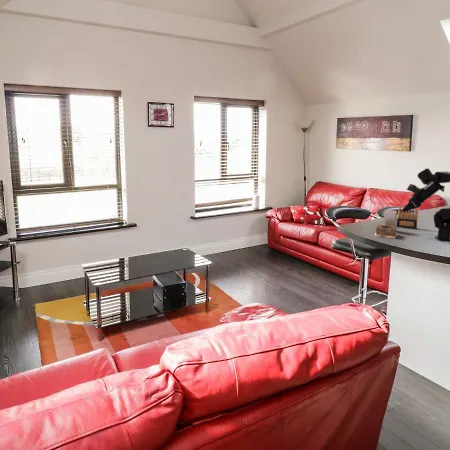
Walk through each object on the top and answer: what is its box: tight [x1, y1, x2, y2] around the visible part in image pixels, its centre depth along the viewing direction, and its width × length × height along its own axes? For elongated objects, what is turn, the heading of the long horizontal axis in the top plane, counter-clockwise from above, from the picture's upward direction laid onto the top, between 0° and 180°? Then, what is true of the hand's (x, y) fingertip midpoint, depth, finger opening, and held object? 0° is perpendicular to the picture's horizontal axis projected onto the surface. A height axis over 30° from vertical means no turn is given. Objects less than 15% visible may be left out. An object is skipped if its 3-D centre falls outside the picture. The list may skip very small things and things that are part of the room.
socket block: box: [373, 224, 398, 239], centre depth 223 cm, size 10×10×4 cm
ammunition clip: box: [396, 206, 419, 230], centre depth 241 cm, size 11×2×12 cm, turn 62°
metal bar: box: [384, 209, 398, 226], centre depth 232 cm, size 5×5×11 cm
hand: (403, 209), depth 228 cm, fingers open, 9 cm apart
